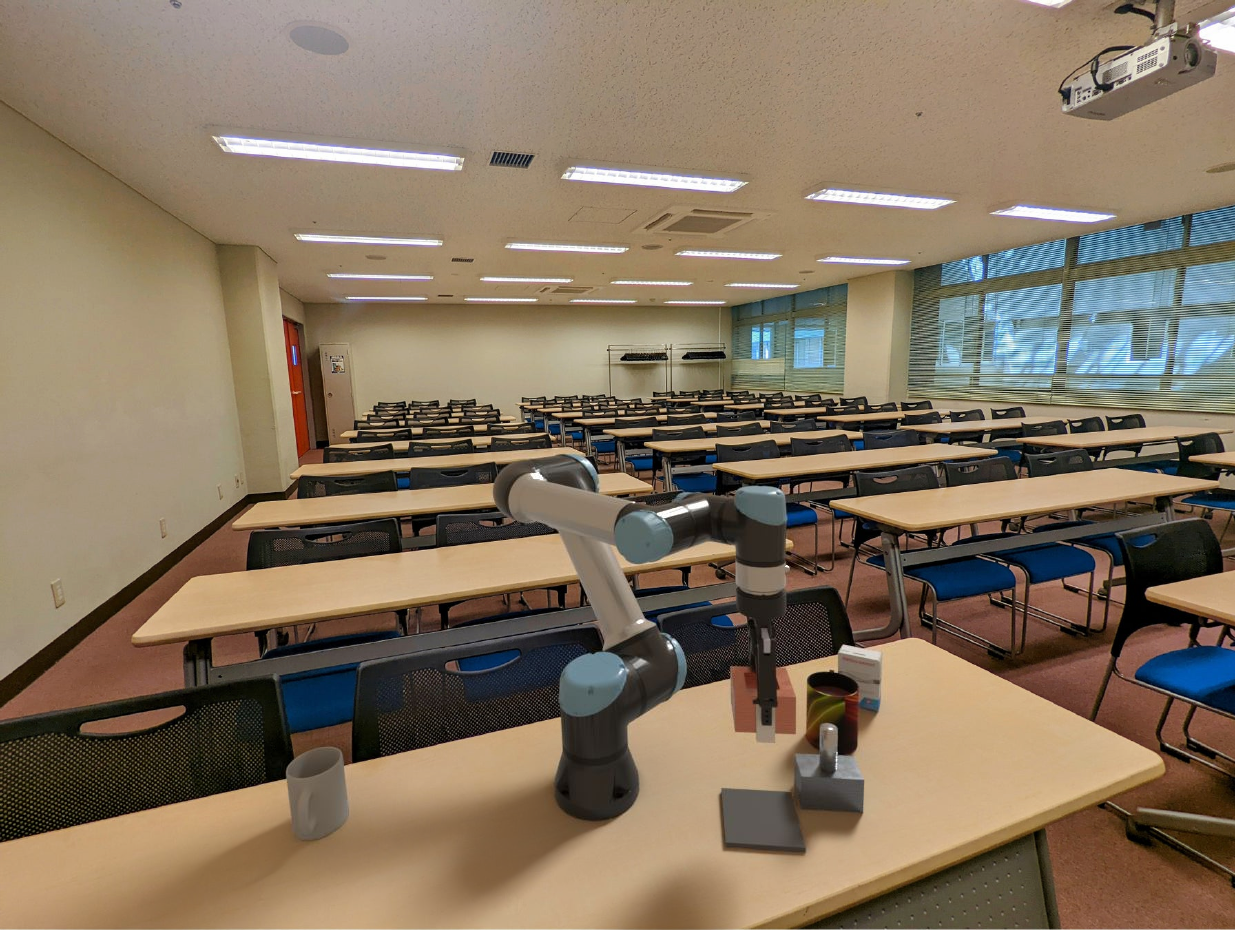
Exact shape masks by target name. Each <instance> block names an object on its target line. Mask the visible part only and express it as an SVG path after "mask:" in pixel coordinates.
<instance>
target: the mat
mask: <svg viewBox="0 0 1235 930" xmlns="http://www.w3.org/2000/svg"><path fill="white" fill-rule="evenodd" d="M720 790H721V803H722V816H723V827H724V828H723V829H724V841H725V847H726V848H734V849H752V850H763V851H764V850H766V851H779V852H780V851H781V852H792V853H793V852H795V853H806V851H807V847H806V843H805V840H804V839H805V838H804V835H803V831H802V827H801V824H800V819H799V816H798V811H797V807H796V804H795V800H794V796H793V793H792V791H785V790H784V791H782V790H769V789H767V790H765V789H764V790H763V789H746V788H745V789H744V788H731V787H730V788H728V787H721V789H720Z"/></svg>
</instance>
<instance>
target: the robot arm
mask: <svg viewBox="0 0 1235 930" xmlns="http://www.w3.org/2000/svg"><path fill="white" fill-rule="evenodd" d="M599 484H600V478H599V475H598V473H597V471H596V469H595V467H594V465H593V464H592V462H591V461H589V460H588V459H587V458H586V457H584V456H582V455H580V454H576V453H567V454H566V453H558V454H555V455H551V456H546V457H545V456H544V457H537V458H529V459H520V460H516V461H513V462H511V463H509V464H508V465H506V466H504V467H503V468H502V469H501V471H500V472H498V474H497V476H496V477H495V479H494V481H493V487H492V497H493V502H494V504H495V506H496V507H497V509H498V510H499V512H500V513H501V514H503V515H504V516H505V517H507V518H508V519H511V520H513V521H516V522H519V523H523V524H533V523H537V522H538V523H541V524H543V525H547V526H548V527H549V528H552V529H555V530H556V531H557V532H558V533H559V536H560V538H561V540H562V543H563V545H564V546H565V549H566V552H567V554H568V556H569V558H570V561H571V563H572V565H573V567H574V569H575V572H576V574H577V577H578V578H579V581H580V584H581V586H582V588H583V590H584V592H585V594H586V597H587V599H588V601H589V603H590V606H591V608H592V610H593V612H594V615H595V617H596V620H597V621H598V624H599V626H600V628H601V631H602V632H603V635H604V637H605V641H604V644H603V646H602V647H603V648H602V651H596V652H595V653H593V654H592V653H591V652H589V653H588V652H587V653H585V654H583V655H582V654H581V655H580V656H578V657H576V658H575V659H573V660H571V661H570V662H569V663H568V664H567V665H566V666H565V667H564V668H563V671H562V672H561V675H560V678H559V692H558V703H559V707H560V725H561V727H560V728H561V729H560V730H561V746H562V751H561V755H560V758H559V762H558V765H557V769H556V772H555V776H554V781H553V783H554V785H553V786H554V798H555V801H556V803H557V805H558V806H559V807H560V808H561V809H562V810H563V811H564V812H565V813H567V814H568V815H570V816H571V817H573V818H574V817H575V818H577V819H581V820H585V821H586V820H587V821H600V820H606V819H611V818H613V817H617V816H619V815H621V814H623V813H624V812H625V811H627V810H628V809H630V808H631V807H632V805H634V803H635V801H636V800H637V798H638V796H639V793H640V775H639V771H638V770H639V769H638V767H637V766H636V763H635V760H634V758H633V755H632V753H631V750H630V748H629V736H628V726H629V725H630V724H631V723H632V722H633V721H636V720H637V719H638V718H640V717H642V716H643V715H645V714H647V713H648V712H649V711H651V710H653V709H654V708H656V707H658V706H659V705H660V704H662V703H665V702H667V701H669V700H670V699H671V698H672V696H675V694H677V693H679V691H680V690H682V687H683V686H684V684H685V681H686V676H687V668H688V667H687V661H686V656H685V653H684V650H683V649H682V646H681V644H680V643H679V642H678V641H677V639H675V638H672V636H671V635H670V634H668V633H665V632H661V631H660V630H659V627H658V626H657V623H656V622H653V621H651V620H648V619H646V618H645V615H644V614H643V612H642V609H641V607H640V606H639V602H638V600H637V599H636V597H635V595H634V593H633V590H632V588H631V586H630V584H629V582H628V580H627V578H626V576H625V573H624V572H623V569H622V567H621V565H620V562H619V561H618V558H617V557H616V556H617V555H616V554H615V552H614V550H613V548H612V546H613V547H614V546H615V547H616V549H617V552H618V553H619V554H620V555H621V556H623V558H624V559H625V561H627V562H628V563H630V564H634V565H644V564H646V563H654V562H658V561H661V560H662V559H664V558H666V557H669V556H671V555H674V554H676V553H679V552H682V551H684V550H688V549H691V548H693V547H695V546H699V545H702V544H704V543H708V542H713V543H717V544H723V545H729V546H734V547H735V548H734V549H735V560H734V561H735V584H736V586H737V587H736V588H735V589H736V590H735V593H736V594H735V596H736V597H735V599H736V600H735V604H736V605H735V606H736V610H737V612H738V613H740V615H742V616H744V617H747V619H746V627H747V637H748V638H747V641H748V642H747V643H748V644H747V652H746V653H747V656H748V666H749V667H756V679H757V699H756V700H753V704H756V733H755V736H756V737H755V740H756V743H761V744H762V743H763V744H776V734H775V708H777V707H778V701H777V683H776V667H777V663H776V661H777V659H776V651H777V641H776V637H777V631H776V625H774V621H773V620H774V619H778V618H781V617H782V616H784V615H785V614H786V611H787V590H786V589H785V587H786V586H787V575H786V573H789V572H790V571H791V567H790V566H788V565H787V563H786V562H787V556H786V554H787V552H786V551H787V543H786V542H787V521H788V516H787V505H786V502H787V501H786V495H785V493H784V492H783V490H782V489H780V488H777V487H774V486H767V485H762V486H759V485H750V486H743V487H739V488H738V489H737V490H736V491H735V494H734V497H729V496H721V495H716V494H707V493H704V492H699V491H695V492H689V491H688V492H687V491H686V492H685V491H683V492H681V493H679V494H677V495H676V497H675V498H674V499H673V500H672V501H671V502H669V503H666V504H662V505H655V506H654V505H648V504H645V503H639V502H636V501H631V500H628V499H623V498H619V497H615V496H611V495H606V494H602V493H600V486H599Z"/></svg>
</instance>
